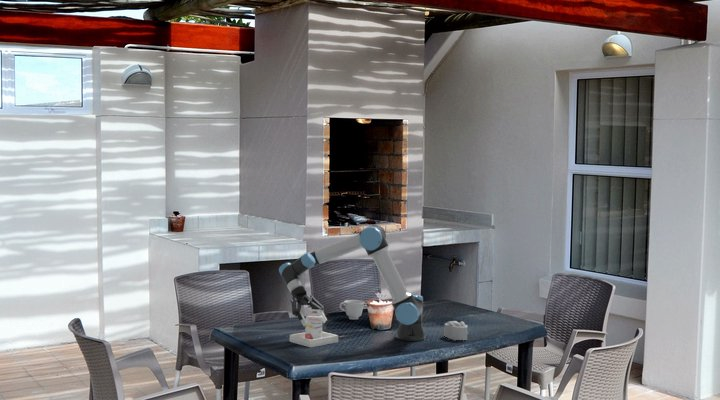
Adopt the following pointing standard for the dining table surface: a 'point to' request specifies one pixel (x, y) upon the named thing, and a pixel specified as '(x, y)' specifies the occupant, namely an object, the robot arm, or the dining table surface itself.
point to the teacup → (353, 308)
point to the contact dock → (326, 339)
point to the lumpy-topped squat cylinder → (455, 330)
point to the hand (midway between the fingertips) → (315, 323)
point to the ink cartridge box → (313, 324)
